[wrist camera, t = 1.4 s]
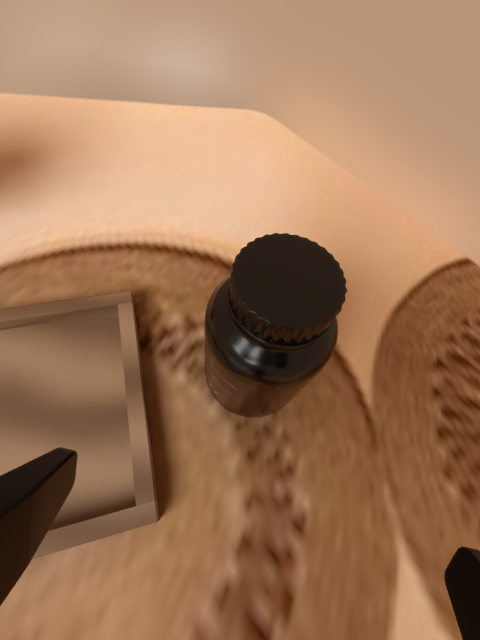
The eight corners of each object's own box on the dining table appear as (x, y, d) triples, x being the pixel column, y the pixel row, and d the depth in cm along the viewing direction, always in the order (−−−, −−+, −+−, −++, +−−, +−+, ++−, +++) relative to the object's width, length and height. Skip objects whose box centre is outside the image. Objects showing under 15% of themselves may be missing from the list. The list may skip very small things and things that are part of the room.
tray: (160, 518, 18) (157, 521, 17) (-160, 614, 15) (-195, 626, 14) (134, 301, 25) (130, 291, 23) (-93, 334, 21) (-112, 324, 20)
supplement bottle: (263, 317, 25) (310, 197, 15) (313, 389, 23) (410, 308, 12) (186, 354, 23) (177, 244, 12) (232, 439, 21) (268, 391, 10)
